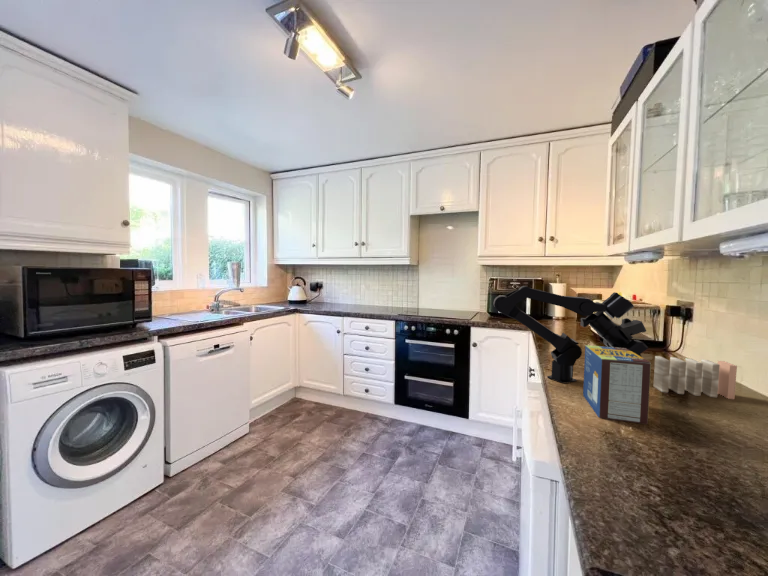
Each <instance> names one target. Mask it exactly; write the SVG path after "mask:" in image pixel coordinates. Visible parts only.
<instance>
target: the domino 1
mask: <svg viewBox="0 0 768 576" xmlns="http://www.w3.org/2000/svg"><path fill="white" fill-rule="evenodd" d="M669 372H670V359H667V358H665V357H664V356H659V355H655V356H654V371H653V373H654V374H653V388H655V389H656V390H658V391H660V393H669V390H670V389H669Z"/></svg>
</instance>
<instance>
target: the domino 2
mask: <svg viewBox="0 0 768 576" xmlns="http://www.w3.org/2000/svg"><path fill="white" fill-rule="evenodd" d="M669 360H670V372H669V389H668V390H671V391H673V392H674V393H676V394H677V395H678V394H679V395H685V391H686V390H685V375H686V360H682V359H681V358H678V357H674V356H673V357H671V356H670V359H669Z"/></svg>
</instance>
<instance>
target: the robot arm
mask: <svg viewBox="0 0 768 576" xmlns="http://www.w3.org/2000/svg"><path fill="white" fill-rule="evenodd" d="M526 299H531V300H534V301H537V302H541V303H546V304H549V305H554V306H557V307H561V308H564V309H567V311H571V312H572V313H575V314H577V315H581V316H584V317H580V323H579V324H580V326H581V327H583V328H586V327H588V326H590V327H591V328H592V329H593V330H594V331H595V332H596V333H597V334H598V336H599V337H600V338H602V340H603V341H602V343H603V345H604V346H605V347H617V348H627V349H628V350H630V351H632V352H634V353H635V354H637V355H639V356H640V357H642V358H643V356H642V353H644V352H645V351H646V350H648V348H649V346H647V344H646V343H644V341H640V340H638V339H633V338H634V337H633V336H634V335H638V334H640V333H646V332H647V329H646V327H645V324H644V323H643V321H642V320H638V319H632V320H631V319H630V318H627V317H626V318H623V319H621V323H620V324H619V325H618V324H616V322H614V321H613V320H612V319H614V318H616V319H620V318H621V317H623V316H624V315H626V314H627V313H629V311H631V309H634V307H635V306H634V304H633V303H632V302H631V301H630V300H629V299H626V297H624V296H622V295H620V293H618V292H613V293H611V294H610V296H609V297H608V298H607V299H604V301H602V302H598V301H596V302H594V301H593V300H592V299H589V298H587V297H583V296H582V297H581V296H574V295H573V296H571V295H570V296H569V295H560V294H556V293H552V292H550V291H549V292H547V291H543V290H541V289H536V288H531V287H529V286H526V285H522V286H520V287H519V288H517V289H515V290H513V291H510V292H508V293H506V294H504V295H503V294H502V295H498V296H496V297H495V298H494V299H493V306H494V308H495V310H496V311H497V312H498V313H500V314H502V315H505V316H507V317H509V318H512V319H514V320H516V321H518V322H519V323H520V324H522V325H523V326H525V327H526V328H527V329H529V330H530V331H532V332H533V333H535V334H536V335H538V336H539V337H541V338H542V339H544V340H545V341H546V342H548V343H550V344H551V345H552V346H553V348H554V349H553V350H552V351H550V355H551V357H552V359H553V360H552V361H551V375H547V378H548V379H550V380H553V381H556V382H559V383H561V384H568V383H573V382H577V379H576V378H574V366H575V364H576V362H577V360H579V359H580V358H581V357H582V354H583V350H582V347H581V346H579V342H578V341H576V340H575V339H574V338H571V337H569V336H568V335H567V334H566V333H564V332H561V335H560V334H557V333H556V332H554V331H552V330H551V329H550V328H548V327H547V326H545V325H544V324H542V323H540V322H539V321H538V320H536V319H535V318H533V317H532V316H531V315H529V314H527V313H525V312H524V311H523V310H521V309H520V308H519V307H518V306H517V304H518V303H520V302H522V301H524V300H526Z"/></svg>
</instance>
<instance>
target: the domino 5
mask: <svg viewBox="0 0 768 576" xmlns="http://www.w3.org/2000/svg"><path fill="white" fill-rule="evenodd" d="M717 364H719V365H720V367H719V381H718V394H717V395H719V394H720V396H721V395H722V396H721V397H723V396H724V397H723V398H726V399H727V398H728V399H727V400H735V395H736V384H737V370H738V366H737V365H736V364H733V363H730V362H728V361H725V360H717Z"/></svg>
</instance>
